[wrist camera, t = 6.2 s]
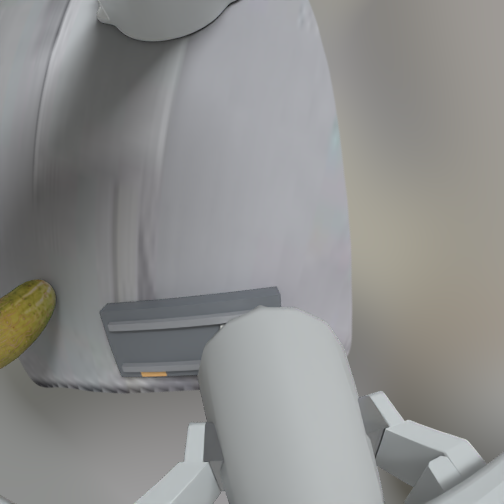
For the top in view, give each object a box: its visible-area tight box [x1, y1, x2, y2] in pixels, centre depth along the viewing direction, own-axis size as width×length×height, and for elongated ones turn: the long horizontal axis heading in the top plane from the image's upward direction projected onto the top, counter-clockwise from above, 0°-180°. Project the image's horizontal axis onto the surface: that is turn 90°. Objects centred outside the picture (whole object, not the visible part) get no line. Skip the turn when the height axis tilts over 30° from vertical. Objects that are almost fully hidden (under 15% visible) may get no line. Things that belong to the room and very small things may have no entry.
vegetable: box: [0, 280, 56, 369], centre depth 20 cm, size 6×6×20 cm
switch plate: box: [100, 287, 281, 377], centre depth 30 cm, size 9×20×3 cm, turn 96°
